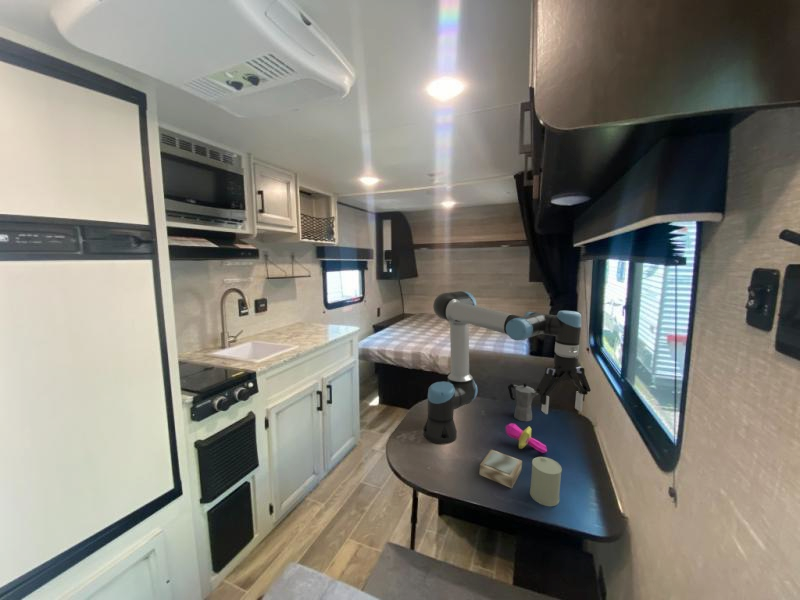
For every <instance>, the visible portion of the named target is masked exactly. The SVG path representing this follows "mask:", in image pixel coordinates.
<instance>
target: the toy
mask: <svg viewBox="0 0 800 600" xmlns="http://www.w3.org/2000/svg"><path fill="white" fill-rule="evenodd" d="M504 428H505V433H506V435H507V436H508V437H509V438H512V439H516V440H518V449H519V450H523V449H524V448H525V447H526V446H527V445H529V446H530V447H532V448H533V449H534V450H536V451H537V452H539V453H541V454H545V453H547V452H548V449H547V445H546V444H544V443H543V442H541V441H539V440H537V439H535V438H533V437H532V428H531V426H527V427H526V428H525V429H524V430H523V429H521V428H520V427H519V426H518V425H517V424H516V423H512V422H510V423H508V424H507V425H506V426H505V427H504Z"/></svg>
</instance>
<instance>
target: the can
mask: <svg viewBox="0 0 800 600" xmlns="http://www.w3.org/2000/svg"><path fill="white" fill-rule="evenodd" d="M562 470H563V468H562V466H561V464H560V463H559V462H558V461H556V460H554V459H552V458H550V457H546V456H537V457H535V458H532V461H531V475H530V476H531V477H530V479H531V480H530V487H529V488H530V489H529V495H530V497H531V498H532V499H533V501H535V502H537V503H538V504H540V505H542V506H545V507H555V506H557V505H559V503H560V491H561V479H562V472H563V471H562Z"/></svg>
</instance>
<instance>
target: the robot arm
mask: <svg viewBox="0 0 800 600" xmlns="http://www.w3.org/2000/svg"><path fill="white" fill-rule="evenodd" d="M432 308H433V311H434V313H435V315H436V316H437V317H438V318H441V319H442V320H446V321H447V323H449V331H450V333H449V334H450V335H449V337H450V341H449V343H450V344H449V345H450V374H448V376H447V381H436V382H434V383H432V384H431V385H430V386H429V387H428V390H427V391H428V392H427V418H426V421H425V424H424V426H423V431H422V433H423V437H424V439H426V440H427V441H429V442H430V443H432V444H433V443H434V444H438V445H446V444H451V443H453V442H454V441H456V439H457V437H458V436H457V435H458V433H457V432H458V431H457V428H456V424H455V420H454V412H455V410H456V409H459V408H461V407H463V406H465V405H468V404H470V403H472V402H473V401H474V400H475V399H476V398H477V395H478V390H479V389H478V386H477V383H476V382H475V380H474V378H473V376H472V375H471V374H470V351H469V350H470V343H469V342H470V340H469V339H470V338H469V337H470V333H469V331H470V330H469V327H470V325H471V326H476V327H480V328H483V329H487V330H491V331H494V332H497V333H501V334H503V335H507V336H508V337H509V338H510V339H512V340H513V341H524V340H527V339H529V338H533V337H535V336H539V335H547V336H552V337H555V342H554V343H555V344H554V356H553V364H554V367H553V368H549V367H548V366H547V367H546V368H545V371H544V374H543V376H542V378H541V380H540V382H539V383H538V386H537V388H536V389H535V391H536V392H537V393H538V395H540V403H541V410H540V411H542V412H543V414H545V415H548V414H549V406H550V396H549V395H550V394H551V392H552V390H553V389H554V388H555V387H556V386H557V385H558V384H559V383H560V382H565V381H571V382H572V384H573V385H574V387H575V388H576V389H577V390H578V391H575V403H574V408H575V410H577V411H579V412H581V413H582V412H583V403H584V402H585V396H586V395H588V392H589V393H590V392H591V387H590V385H589V382H588V379H587V377H586V374H585V373H586V372H585V368H584V367H582V366H581V365H578V363H579V357H578V356H579V351H580V340H581V330H582V315H581V313H579V311H575V310H559V311H558V312H557V314H555V315H554V314H548V313H541V312H537V311H535V312H533V311H528V312H527V311H526V313H525V314H524V315H523V316H520V315H517V314H512V313H508V312H504V311H499V310H495V309H491V308H485V307H481V306H479V305H477V300H476V298H475V296H473V294H472V293H470V292H469V291H465V290H463V291H462V290H460V291H451V292H443V293H441V294H439V295H437V296H436V297H435V298H434V301H433V306H432ZM576 374H577V376H576ZM577 377H578V378H577ZM578 379H579V380H578Z"/></svg>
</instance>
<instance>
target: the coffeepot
mask: <svg viewBox="0 0 800 600" xmlns="http://www.w3.org/2000/svg"><path fill="white" fill-rule="evenodd" d="M507 389H508V393H509V395H510V396H509V397H510V399H511V400H512V401H515V400H516V405H515V410H514V414H513V417H514V418H515V419H516V420H518V421H521V422H531V421H533V411H532V403H533V400H534V399H535V397H536V396H538V395H539V394H538V393H537V392H536V390H535V389H534V388H533V387H530V386H528V384H527V383H526V382H525V383H523V385H517V384H514V383H511V384H509V385H507ZM512 389H514V390H515V397H513V396H514V394H513V390H512Z"/></svg>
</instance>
